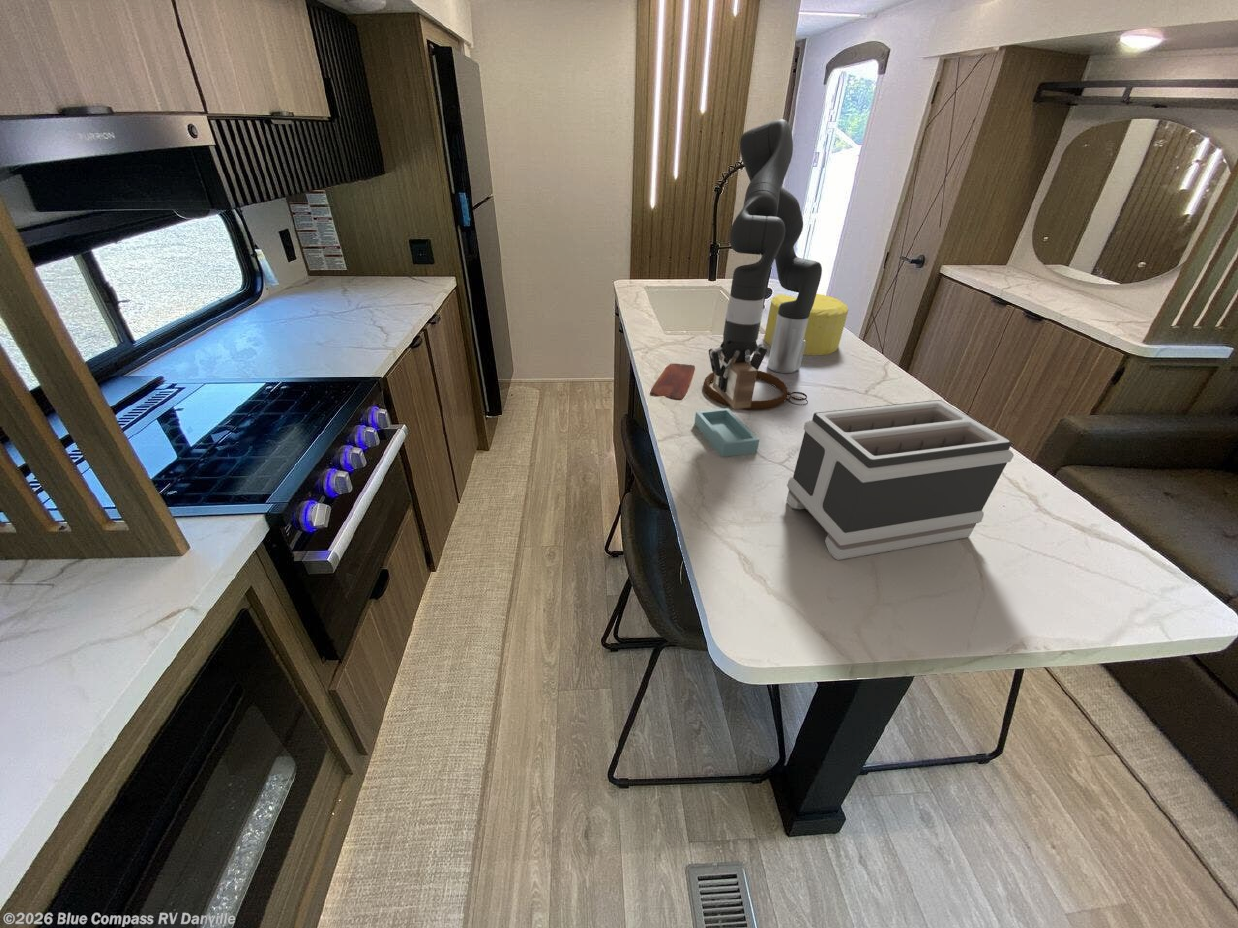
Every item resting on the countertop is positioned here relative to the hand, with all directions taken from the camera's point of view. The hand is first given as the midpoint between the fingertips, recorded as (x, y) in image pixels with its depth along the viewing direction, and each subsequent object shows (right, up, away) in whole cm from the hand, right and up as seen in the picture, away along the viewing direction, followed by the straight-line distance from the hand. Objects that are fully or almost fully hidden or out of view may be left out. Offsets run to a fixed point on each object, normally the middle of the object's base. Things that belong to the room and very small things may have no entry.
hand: (731, 389), depth 120 cm
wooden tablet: (-9, +7, +36) cm, 38 cm away
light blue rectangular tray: (0, -11, +7) cm, 13 cm away
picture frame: (0, -2, +1) cm, 2 cm away
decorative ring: (+13, +3, +29) cm, 32 cm away
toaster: (+26, -28, -18) cm, 42 cm away
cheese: (+40, +27, +67) cm, 82 cm away
